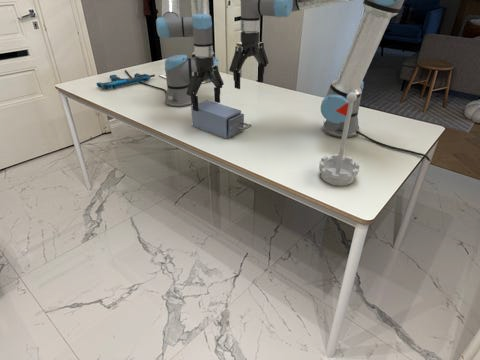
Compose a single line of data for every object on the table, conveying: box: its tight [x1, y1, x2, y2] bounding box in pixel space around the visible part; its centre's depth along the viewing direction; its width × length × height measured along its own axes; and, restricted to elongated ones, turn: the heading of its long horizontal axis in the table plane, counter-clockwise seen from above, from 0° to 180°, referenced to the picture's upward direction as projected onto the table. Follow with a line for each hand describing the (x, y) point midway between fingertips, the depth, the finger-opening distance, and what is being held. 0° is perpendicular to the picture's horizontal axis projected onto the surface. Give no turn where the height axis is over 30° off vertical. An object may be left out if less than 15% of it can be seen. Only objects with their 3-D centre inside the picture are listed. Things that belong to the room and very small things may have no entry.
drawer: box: [227, 113, 253, 138], centre depth 147 cm, size 25×9×8 cm, turn 50°
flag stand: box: [318, 92, 360, 187], centre depth 110 cm, size 13×13×30 cm
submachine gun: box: [95, 72, 156, 91], centre depth 209 cm, size 34×4×25 cm
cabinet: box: [190, 99, 242, 139], centre depth 150 cm, size 20×10×10 cm, turn 50°
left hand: (206, 106), depth 150 cm, fingers open, 13 cm apart
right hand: (249, 85), depth 145 cm, fingers open, 13 cm apart
